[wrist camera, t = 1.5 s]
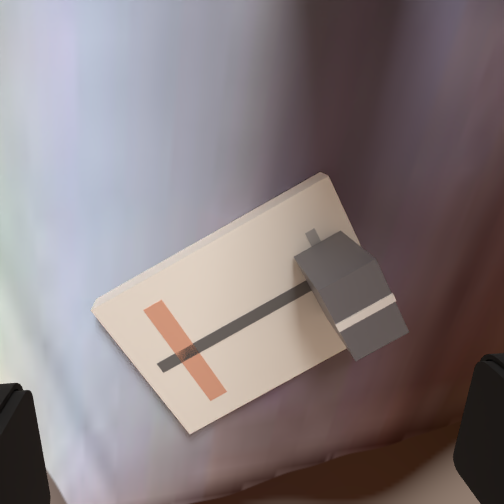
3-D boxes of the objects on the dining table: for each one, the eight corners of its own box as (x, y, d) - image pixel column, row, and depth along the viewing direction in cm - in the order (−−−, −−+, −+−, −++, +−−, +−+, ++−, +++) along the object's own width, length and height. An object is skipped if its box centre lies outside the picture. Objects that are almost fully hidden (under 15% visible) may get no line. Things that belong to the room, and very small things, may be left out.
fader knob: (341, 230, 31) (377, 258, 25) (370, 292, 33) (410, 332, 27) (293, 257, 31) (317, 292, 25) (325, 317, 33) (355, 362, 27)
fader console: (320, 171, 32) (328, 175, 30) (385, 310, 37) (396, 321, 35) (96, 298, 32) (90, 310, 31) (189, 418, 37) (189, 434, 35)
